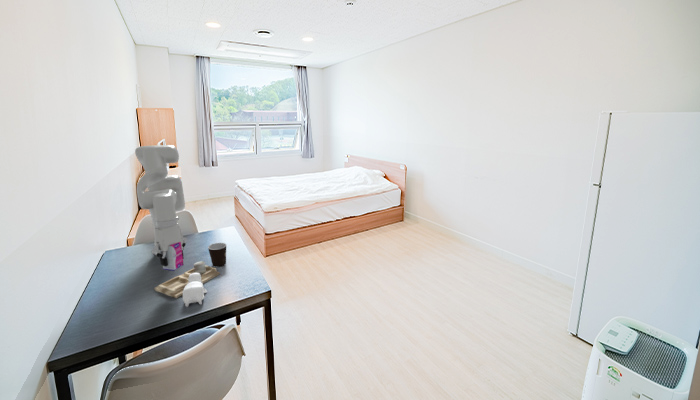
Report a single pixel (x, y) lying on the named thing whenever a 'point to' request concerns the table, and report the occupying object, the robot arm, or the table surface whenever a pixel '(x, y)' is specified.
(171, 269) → the supplement box
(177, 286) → the beech caddy
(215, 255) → the coffee mug
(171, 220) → the robot arm
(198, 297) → the white figurine
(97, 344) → the table surface
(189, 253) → the table surface
